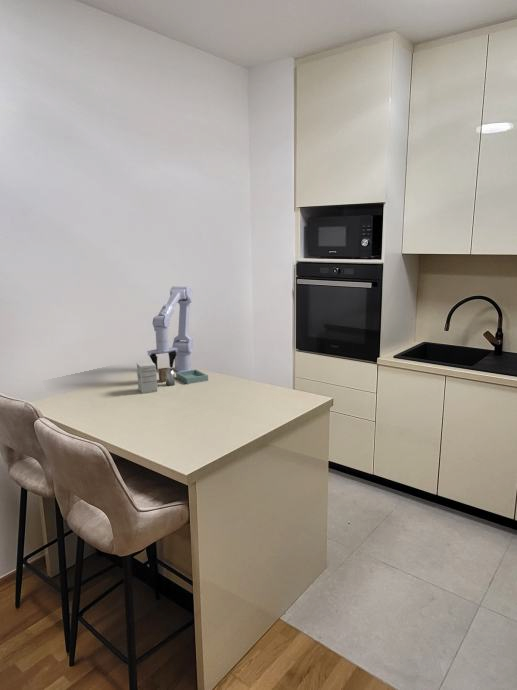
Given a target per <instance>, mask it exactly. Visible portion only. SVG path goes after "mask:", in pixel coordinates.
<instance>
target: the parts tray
mask: <svg viewBox="0 0 517 690" xmlns="http://www.w3.org/2000/svg"><path fill="white" fill-rule="evenodd" d="M175 378H176V379H178V380H180V381H181V382H183V383H184V384H185V385H189V384H195V383H201V382H206V381H207V382H208V381H209V375H208V374H206V373H205V372H203V371H201V370H199V369H194V370H189V371H182V372H178V371H177V372H175Z"/></svg>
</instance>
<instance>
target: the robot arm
mask: <svg viewBox="0 0 517 690" xmlns="http://www.w3.org/2000/svg"><path fill="white" fill-rule="evenodd" d="M169 291H170V292H169V295H170V296H169V298H168V300H167V303H166V304H163V306H162V307H161V309H160V311H159V312H158V315H155V316H154V317H153V318H152V326H153V328H154V329H153V330H154V332H155V344H156V345H155V346H156V348H155V349H151V350H147V352H146V353H147V355H148V356H149V358H150V360H151V362H153V363H154V364H155V365H156V371H157V370H159V368H158V356H157V355H162V354H168V358H169V367H170V368H173V369H172V370H174V371H177V372H182V371H189V370H195V369H193V368H192V363H191V354H192V353H193V352H194V341H193V338H192V337H190V336H189V320H190V319H189V318H190V304H191V303H192V301H193V291H192V287H190V286H175V285H173V286H171V288H170V290H169ZM177 304H178V305H179V311H178V312H179V314H178V332H177V333H178V335H176V336H175V337H174V338H173V342H172V346H171V347H169V334H168V333H169V329H168V328H169V326H170V322H171V318H172V316H173V314H174V312H175V310H174V308H175V306H176V305H177ZM173 366H174V367H173Z"/></svg>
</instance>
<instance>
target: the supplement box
mask: <svg viewBox="0 0 517 690" xmlns="http://www.w3.org/2000/svg"><path fill="white" fill-rule="evenodd" d="M136 372H137V385H138V386H137V388H138V390H139V391H140V393H141V394H149V393H155V392H158V378H157V370H156V365H155V364H154V363H153V362H152V361H144V362H138V363H136Z"/></svg>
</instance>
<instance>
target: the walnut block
mask: <svg viewBox="0 0 517 690" xmlns="http://www.w3.org/2000/svg"><path fill="white" fill-rule="evenodd" d="M169 369H170V368H168V367H163V368H162V367H161V368H158V380H159V382H161V383H166V372H165V371H166V370H169Z"/></svg>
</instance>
